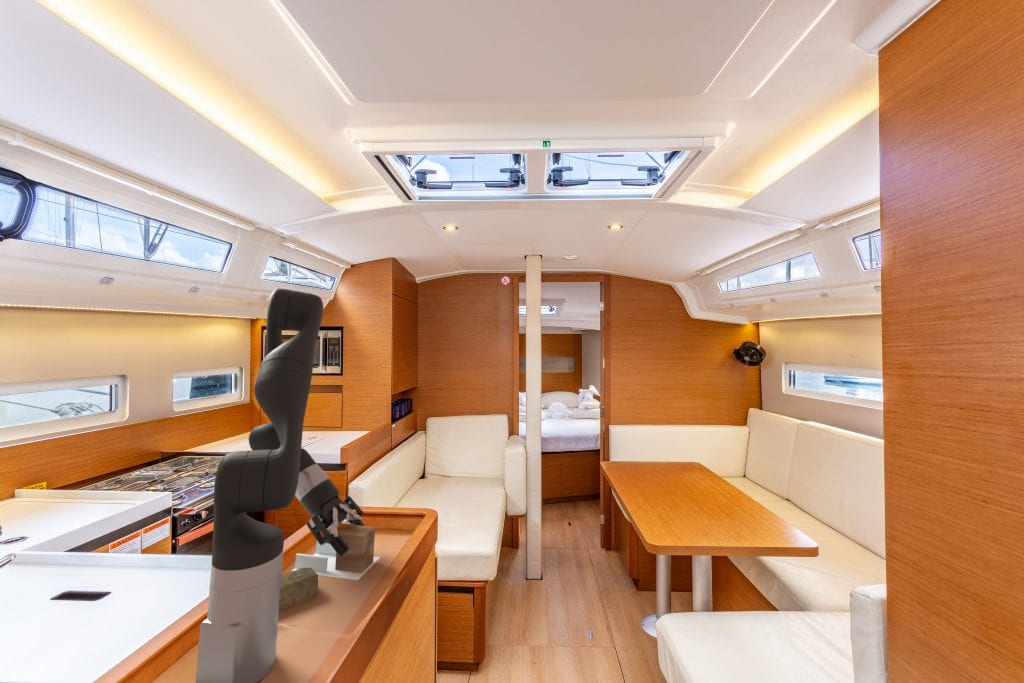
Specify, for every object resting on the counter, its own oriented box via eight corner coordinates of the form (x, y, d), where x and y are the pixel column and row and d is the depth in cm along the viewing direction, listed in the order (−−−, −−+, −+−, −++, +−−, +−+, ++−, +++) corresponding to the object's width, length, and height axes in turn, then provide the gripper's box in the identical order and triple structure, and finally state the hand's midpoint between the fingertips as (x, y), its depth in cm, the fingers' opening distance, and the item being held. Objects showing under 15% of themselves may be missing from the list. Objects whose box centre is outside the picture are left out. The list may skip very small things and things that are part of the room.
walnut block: (361, 573, 85) (364, 536, 86) (335, 569, 86) (337, 533, 87) (373, 561, 90) (375, 527, 91) (347, 558, 91) (349, 524, 92)
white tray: (357, 583, 83) (358, 565, 83) (275, 571, 86) (276, 554, 86) (380, 559, 92) (381, 544, 93) (305, 550, 96) (306, 535, 96)
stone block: (319, 599, 77) (320, 573, 77) (251, 626, 69) (253, 597, 69) (309, 586, 81) (310, 562, 81) (244, 610, 73) (245, 583, 73)
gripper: (304, 488, 84) (349, 548, 81) (343, 470, 98) (382, 521, 95) (281, 510, 84) (325, 570, 82) (322, 489, 98) (361, 540, 96)
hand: (355, 543), depth 88 cm, fingers open, 8 cm apart
